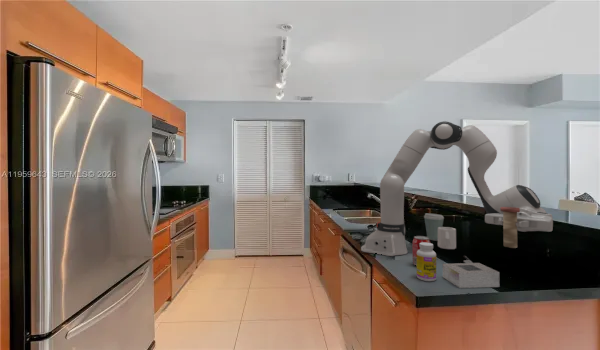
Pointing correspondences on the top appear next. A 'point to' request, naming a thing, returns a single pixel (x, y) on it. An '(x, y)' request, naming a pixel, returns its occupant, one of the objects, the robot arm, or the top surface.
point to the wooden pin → (509, 226)
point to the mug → (446, 237)
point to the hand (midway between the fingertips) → (509, 223)
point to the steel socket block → (471, 275)
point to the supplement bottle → (426, 262)
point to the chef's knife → (467, 260)
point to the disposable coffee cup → (433, 225)
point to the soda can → (416, 246)
